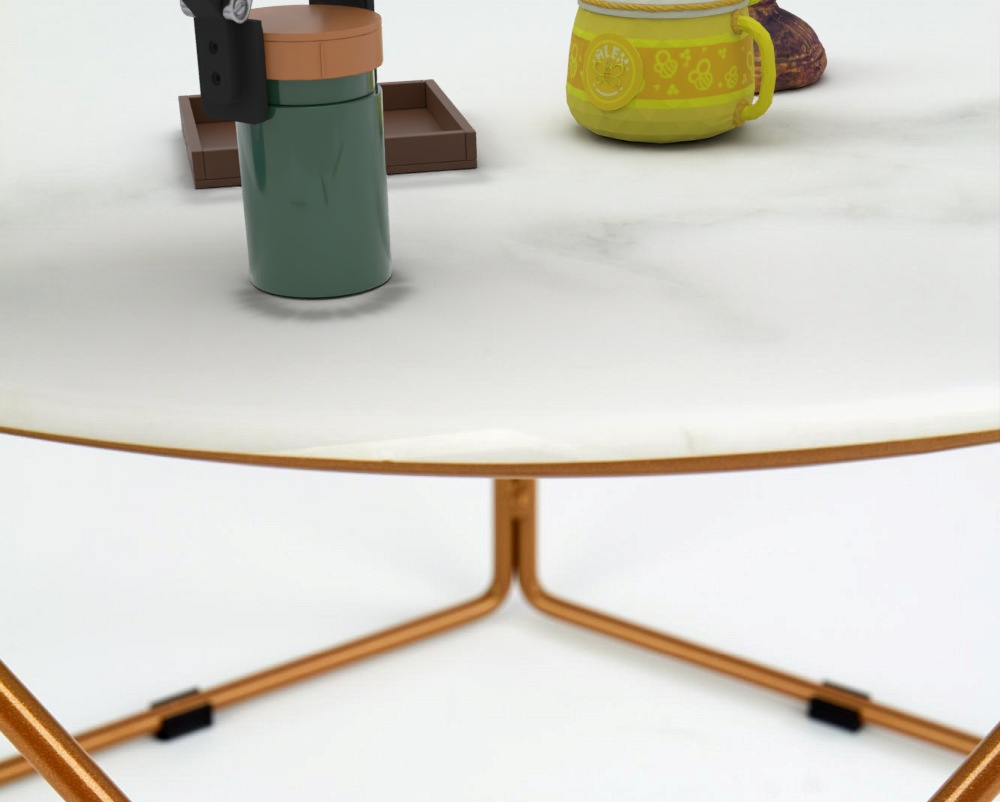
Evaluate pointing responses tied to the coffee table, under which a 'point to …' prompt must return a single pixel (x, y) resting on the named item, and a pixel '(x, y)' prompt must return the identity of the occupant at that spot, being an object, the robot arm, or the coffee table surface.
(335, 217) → the jar
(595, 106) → the mug
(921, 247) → the coffee table surface
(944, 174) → the coffee table surface
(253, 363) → the coffee table surface
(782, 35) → the dark brown rounded piece
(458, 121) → the tray
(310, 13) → the lid
